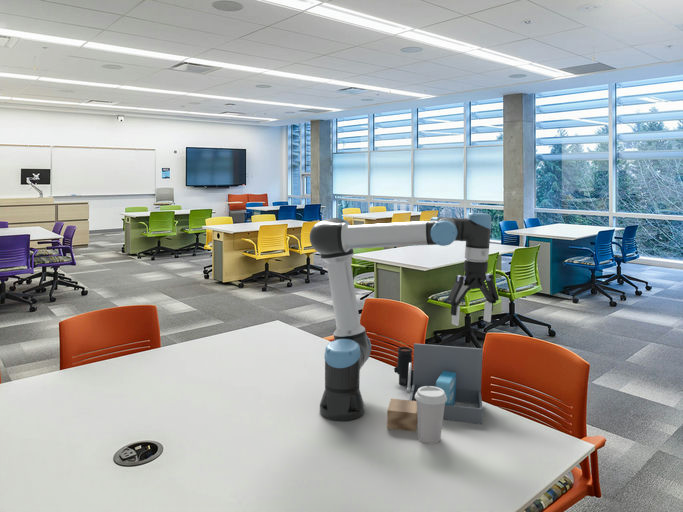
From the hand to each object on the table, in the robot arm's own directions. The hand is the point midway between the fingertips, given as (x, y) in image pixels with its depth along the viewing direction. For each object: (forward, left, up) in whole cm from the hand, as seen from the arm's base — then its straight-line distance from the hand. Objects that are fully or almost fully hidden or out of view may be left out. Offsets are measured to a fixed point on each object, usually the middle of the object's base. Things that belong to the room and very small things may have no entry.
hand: (471, 323), depth 169 cm
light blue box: (-7, -2, -31) cm, 32 cm away
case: (-7, -2, -30) cm, 31 cm away
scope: (-22, +17, -31) cm, 42 cm away
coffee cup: (-11, -23, -31) cm, 40 cm away
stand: (-20, -16, -30) cm, 40 cm away
